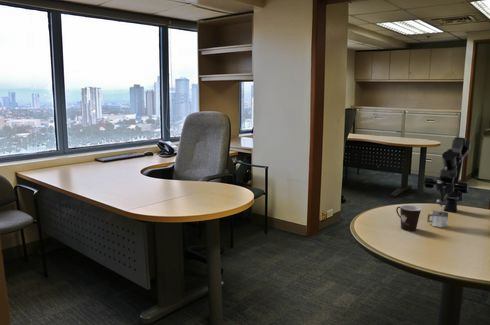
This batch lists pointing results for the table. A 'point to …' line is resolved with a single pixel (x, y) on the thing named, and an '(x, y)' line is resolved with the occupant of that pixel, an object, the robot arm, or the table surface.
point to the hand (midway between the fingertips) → (441, 199)
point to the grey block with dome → (438, 219)
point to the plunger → (441, 202)
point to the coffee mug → (409, 217)
